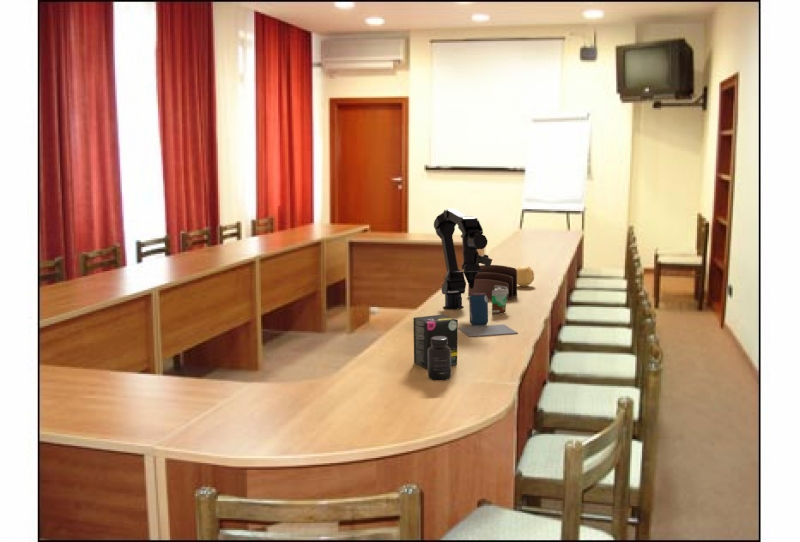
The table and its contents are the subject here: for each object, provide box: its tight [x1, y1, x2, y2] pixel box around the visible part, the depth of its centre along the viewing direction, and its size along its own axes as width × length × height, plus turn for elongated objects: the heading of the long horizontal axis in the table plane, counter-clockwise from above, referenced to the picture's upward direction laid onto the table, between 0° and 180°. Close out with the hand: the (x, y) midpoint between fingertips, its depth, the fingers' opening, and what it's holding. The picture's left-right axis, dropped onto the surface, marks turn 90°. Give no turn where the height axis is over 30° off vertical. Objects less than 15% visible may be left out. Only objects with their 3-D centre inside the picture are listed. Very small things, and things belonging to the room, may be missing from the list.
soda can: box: [468, 292, 489, 327], centre depth 288 cm, size 7×7×12 cm
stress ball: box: [515, 265, 535, 288], centre depth 368 cm, size 10×10×10 cm
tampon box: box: [412, 314, 459, 371], centre depth 236 cm, size 11×9×15 cm
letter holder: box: [467, 264, 518, 301], centre depth 344 cm, size 10×20×14 cm, turn 58°
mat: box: [458, 323, 519, 338], centre depth 279 cm, size 14×18×1 cm
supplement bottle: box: [427, 336, 452, 381], centre depth 222 cm, size 7×7×12 cm
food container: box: [491, 285, 508, 315], centre depth 311 cm, size 12×6×10 cm, turn 168°
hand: (471, 288), depth 302 cm, fingers closed
